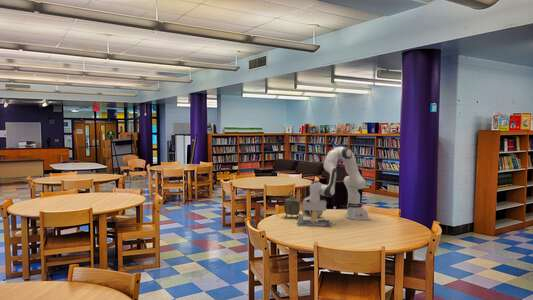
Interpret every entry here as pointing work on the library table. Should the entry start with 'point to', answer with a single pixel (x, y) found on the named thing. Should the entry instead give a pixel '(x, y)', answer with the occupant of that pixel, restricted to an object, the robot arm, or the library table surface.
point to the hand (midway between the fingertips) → (314, 215)
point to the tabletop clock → (292, 205)
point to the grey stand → (314, 217)
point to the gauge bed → (320, 222)
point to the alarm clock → (306, 212)
